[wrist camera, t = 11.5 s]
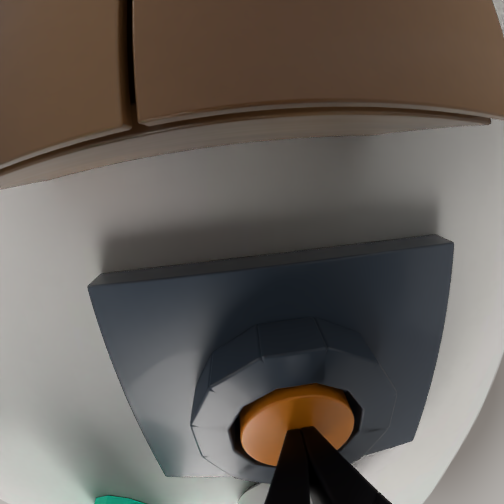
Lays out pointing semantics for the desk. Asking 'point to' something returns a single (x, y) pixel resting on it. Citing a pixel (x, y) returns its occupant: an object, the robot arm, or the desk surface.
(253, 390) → the button box
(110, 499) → the candle
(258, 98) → the flap
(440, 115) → the carton
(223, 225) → the desk surface
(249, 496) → the can
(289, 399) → the button
